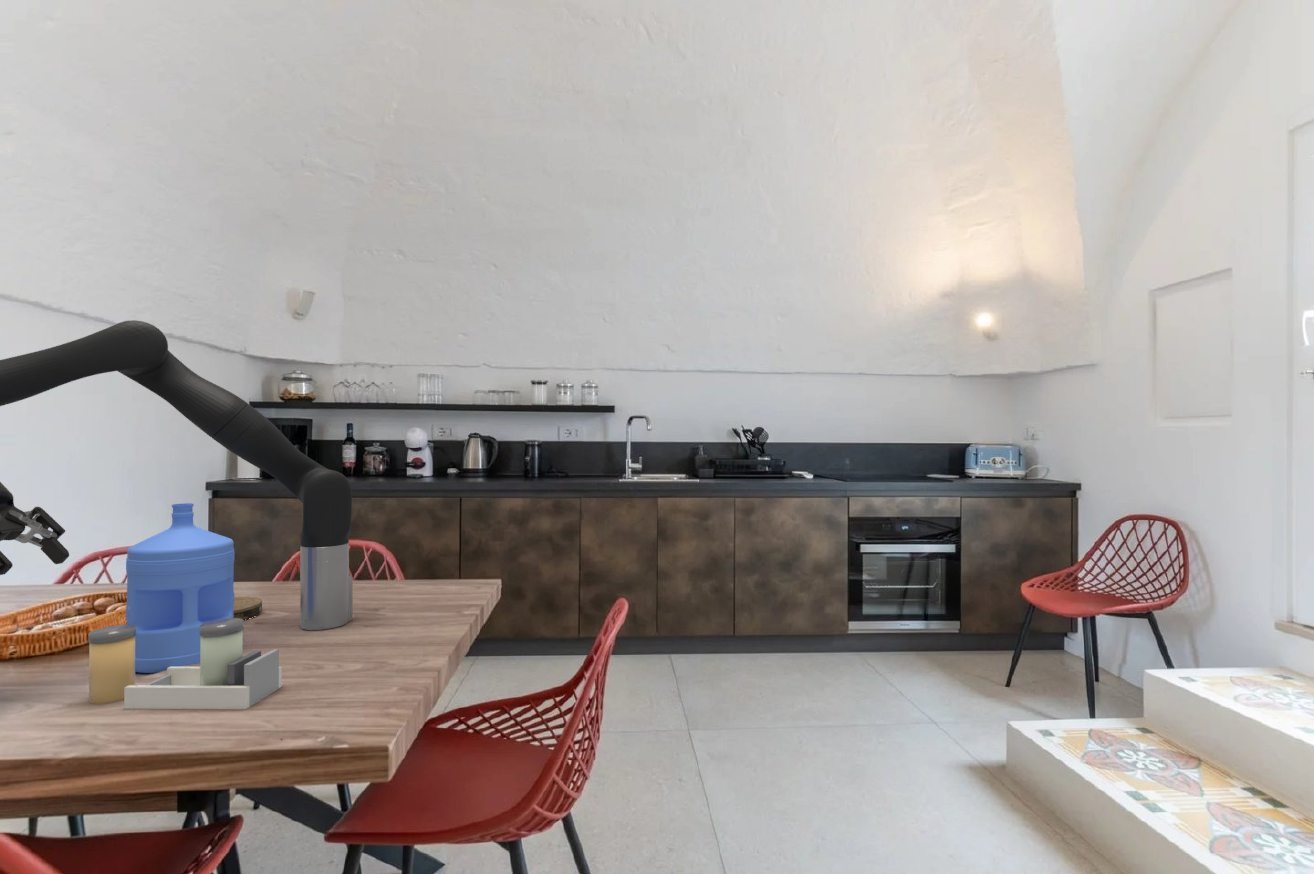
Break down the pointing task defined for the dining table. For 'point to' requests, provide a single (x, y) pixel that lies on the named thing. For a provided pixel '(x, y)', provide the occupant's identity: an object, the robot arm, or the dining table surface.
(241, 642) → the sage jar
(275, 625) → the dining table surface
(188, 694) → the jar lane
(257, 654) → the block
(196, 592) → the water jug
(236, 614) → the brown round flat disc
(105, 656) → the honey jar
